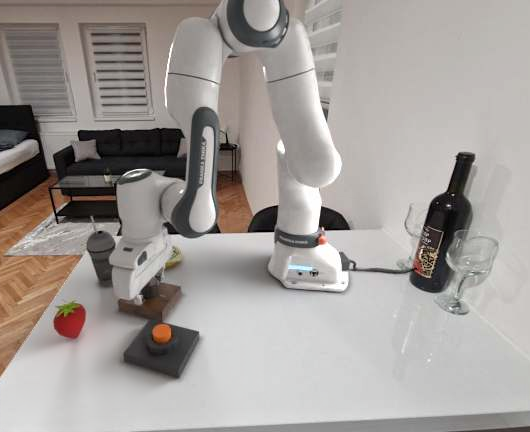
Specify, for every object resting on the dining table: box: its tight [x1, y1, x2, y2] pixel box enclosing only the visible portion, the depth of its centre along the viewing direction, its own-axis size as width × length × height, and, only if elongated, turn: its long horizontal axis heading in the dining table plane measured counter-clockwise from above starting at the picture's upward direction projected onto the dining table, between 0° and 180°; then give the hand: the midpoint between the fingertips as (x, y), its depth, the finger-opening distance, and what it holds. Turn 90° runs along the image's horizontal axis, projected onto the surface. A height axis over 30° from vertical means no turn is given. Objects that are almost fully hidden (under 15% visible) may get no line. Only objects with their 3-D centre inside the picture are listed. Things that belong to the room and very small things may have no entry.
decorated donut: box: [164, 245, 183, 270], centre depth 93 cm, size 10×11×4 cm
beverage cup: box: [85, 215, 117, 288], centre depth 80 cm, size 7×7×20 cm
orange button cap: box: [152, 324, 171, 344], centre depth 61 cm, size 4×4×2 cm
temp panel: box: [117, 281, 182, 322], centre depth 75 cm, size 12×10×3 cm
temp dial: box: [141, 276, 158, 298], centre depth 74 cm, size 4×4×4 cm
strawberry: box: [52, 299, 87, 340], centre depth 64 cm, size 6×8×10 cm
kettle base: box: [123, 319, 201, 379], centre depth 62 cm, size 12×10×4 cm
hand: (149, 290), depth 75 cm, fingers open, 8 cm apart
